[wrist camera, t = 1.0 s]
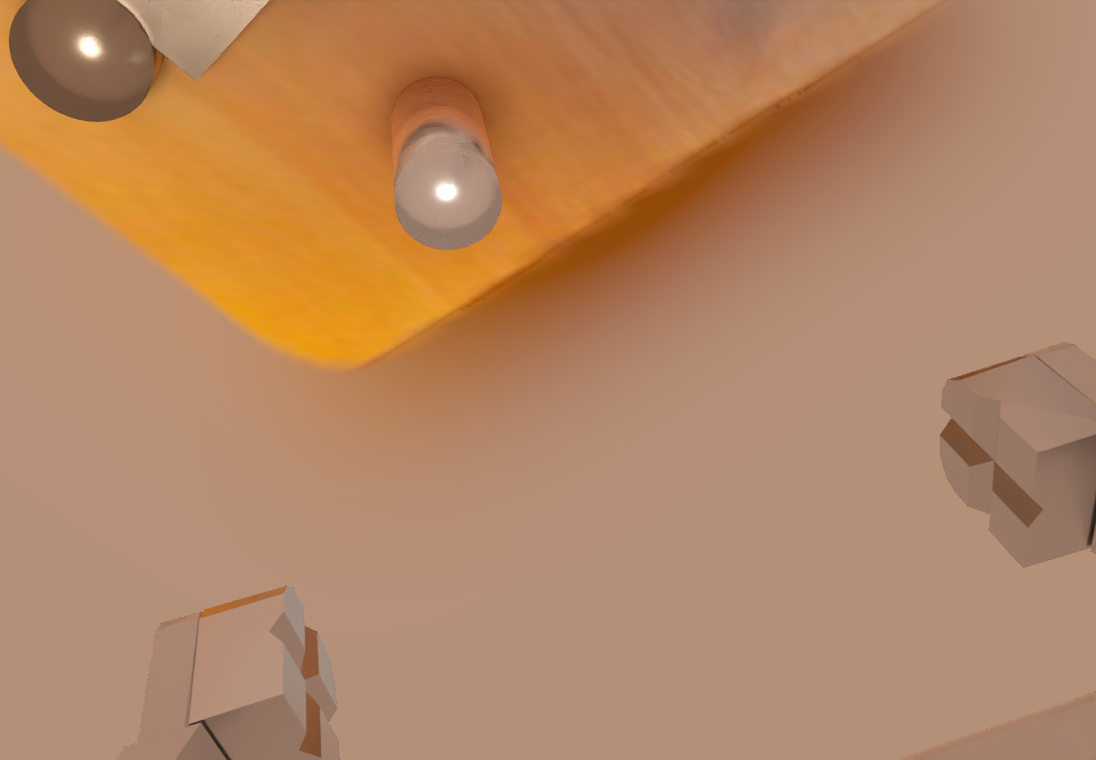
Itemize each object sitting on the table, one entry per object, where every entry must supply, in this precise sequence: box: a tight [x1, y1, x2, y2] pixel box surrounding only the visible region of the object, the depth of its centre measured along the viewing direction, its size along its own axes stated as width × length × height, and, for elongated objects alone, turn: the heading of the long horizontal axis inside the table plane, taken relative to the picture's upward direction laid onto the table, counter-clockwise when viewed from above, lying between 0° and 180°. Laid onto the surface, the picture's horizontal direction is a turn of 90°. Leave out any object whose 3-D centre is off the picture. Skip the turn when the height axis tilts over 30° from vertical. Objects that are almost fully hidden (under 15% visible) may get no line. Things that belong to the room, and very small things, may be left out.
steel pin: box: [391, 77, 502, 250], centre depth 39 cm, size 4×4×8 cm
